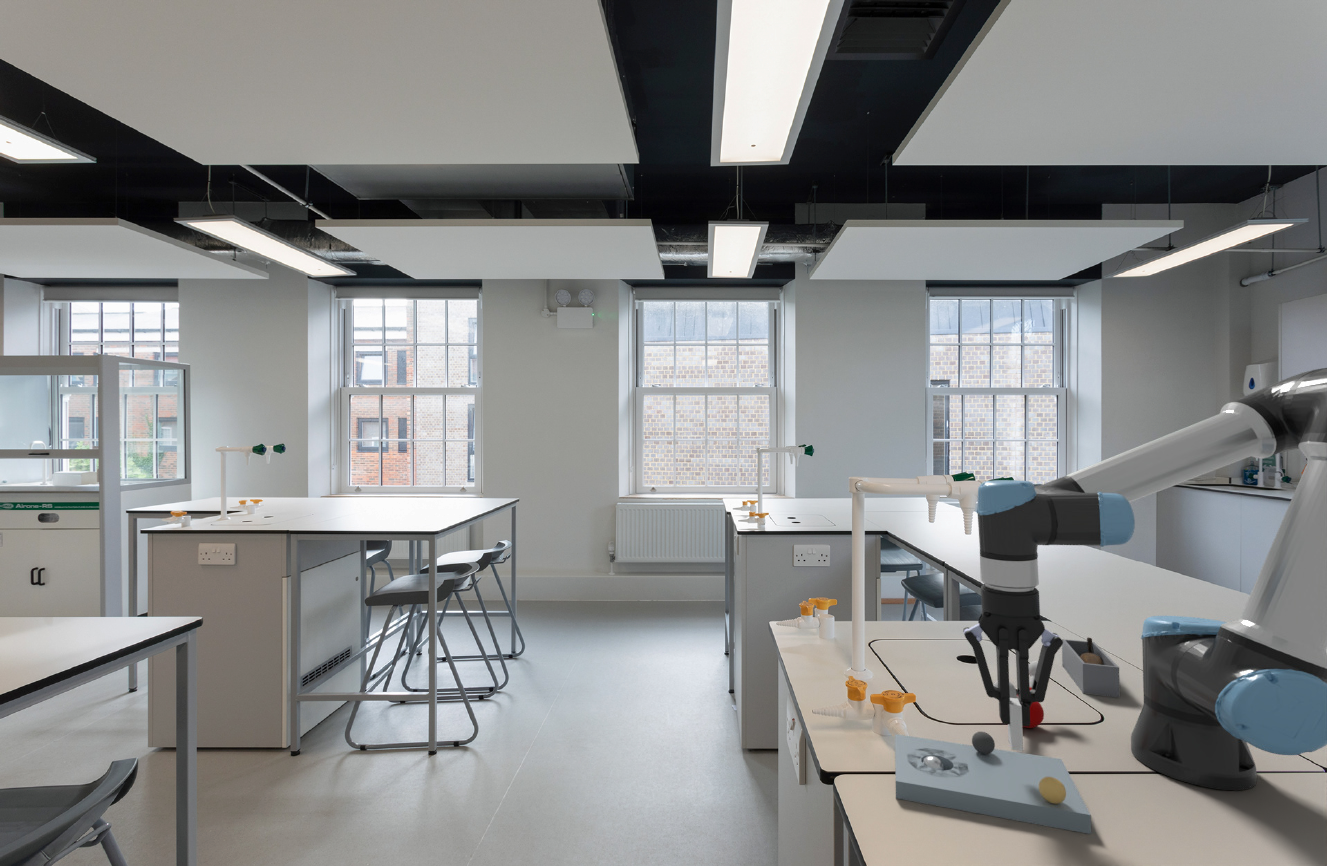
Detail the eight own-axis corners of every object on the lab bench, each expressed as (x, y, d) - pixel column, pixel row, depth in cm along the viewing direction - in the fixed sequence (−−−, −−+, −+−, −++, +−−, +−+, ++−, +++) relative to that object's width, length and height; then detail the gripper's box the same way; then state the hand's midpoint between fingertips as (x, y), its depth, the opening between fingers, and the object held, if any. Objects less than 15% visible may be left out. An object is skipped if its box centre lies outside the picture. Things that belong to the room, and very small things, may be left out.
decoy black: (993, 749, 98) (993, 729, 98) (996, 759, 95) (996, 738, 95) (970, 746, 99) (970, 726, 99) (973, 756, 96) (973, 735, 96)
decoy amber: (1063, 797, 85) (1062, 774, 85) (1069, 810, 82) (1068, 786, 82) (1036, 793, 86) (1036, 770, 86) (1041, 806, 83) (1041, 782, 83)
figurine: (1075, 669, 139) (1075, 630, 139) (1099, 673, 137) (1099, 634, 137) (1080, 691, 127) (1081, 649, 127) (1107, 696, 124) (1107, 653, 124)
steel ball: (931, 747, 96) (916, 760, 97) (933, 757, 93) (917, 770, 94) (948, 764, 95) (932, 777, 96) (950, 775, 92) (933, 788, 93)
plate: (1061, 775, 95) (1061, 758, 95) (1091, 834, 81) (1090, 815, 81) (895, 748, 103) (895, 733, 103) (895, 798, 89) (895, 780, 89)
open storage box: (1094, 668, 138) (1094, 642, 138) (1119, 697, 123) (1119, 667, 123) (1062, 665, 140) (1062, 639, 140) (1083, 693, 125) (1082, 663, 125)
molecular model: (1022, 706, 119) (1022, 654, 119) (1057, 716, 115) (1057, 662, 115) (989, 736, 107) (989, 679, 107) (1027, 749, 103) (1026, 689, 103)
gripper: (1053, 581, 92) (1060, 740, 92) (957, 577, 97) (964, 728, 96) (1067, 594, 85) (1074, 765, 85) (963, 589, 90) (969, 751, 89)
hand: (1015, 745), depth 91 cm, fingers closed
